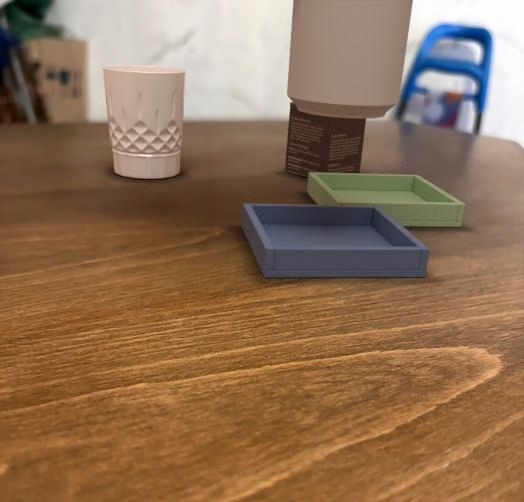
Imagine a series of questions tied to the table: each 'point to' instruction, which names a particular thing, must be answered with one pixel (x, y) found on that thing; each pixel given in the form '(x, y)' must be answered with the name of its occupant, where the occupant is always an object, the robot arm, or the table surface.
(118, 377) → the table surface
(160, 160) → the white cup
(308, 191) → the tray green
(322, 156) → the box
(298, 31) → the can
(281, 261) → the tray blue
